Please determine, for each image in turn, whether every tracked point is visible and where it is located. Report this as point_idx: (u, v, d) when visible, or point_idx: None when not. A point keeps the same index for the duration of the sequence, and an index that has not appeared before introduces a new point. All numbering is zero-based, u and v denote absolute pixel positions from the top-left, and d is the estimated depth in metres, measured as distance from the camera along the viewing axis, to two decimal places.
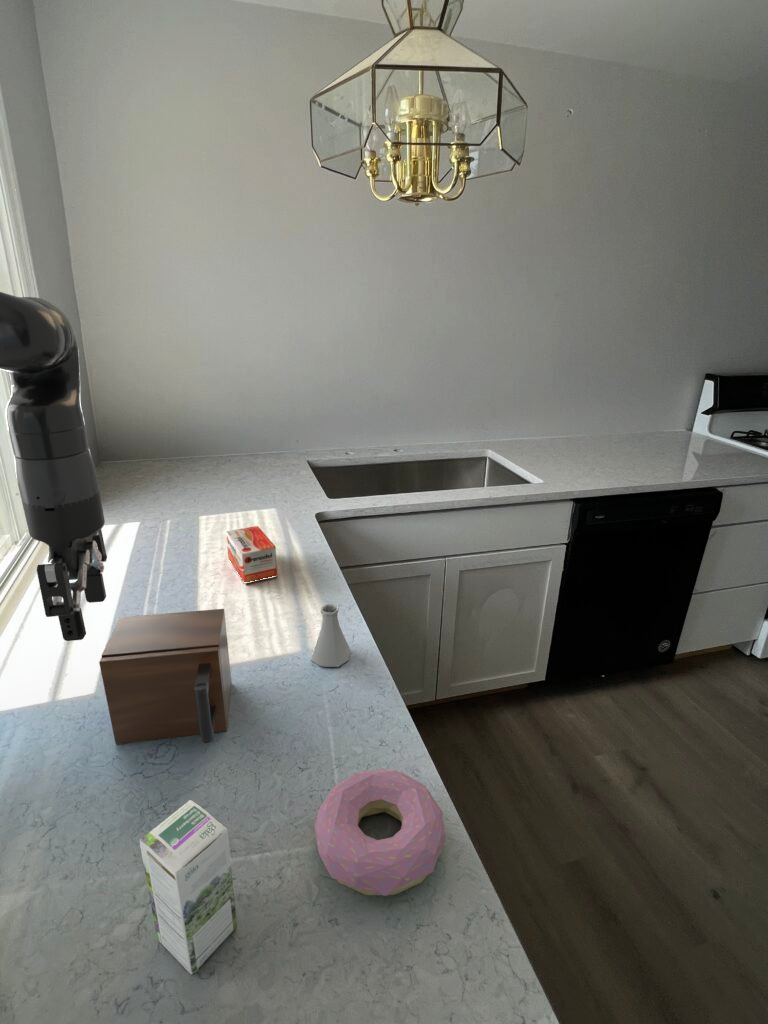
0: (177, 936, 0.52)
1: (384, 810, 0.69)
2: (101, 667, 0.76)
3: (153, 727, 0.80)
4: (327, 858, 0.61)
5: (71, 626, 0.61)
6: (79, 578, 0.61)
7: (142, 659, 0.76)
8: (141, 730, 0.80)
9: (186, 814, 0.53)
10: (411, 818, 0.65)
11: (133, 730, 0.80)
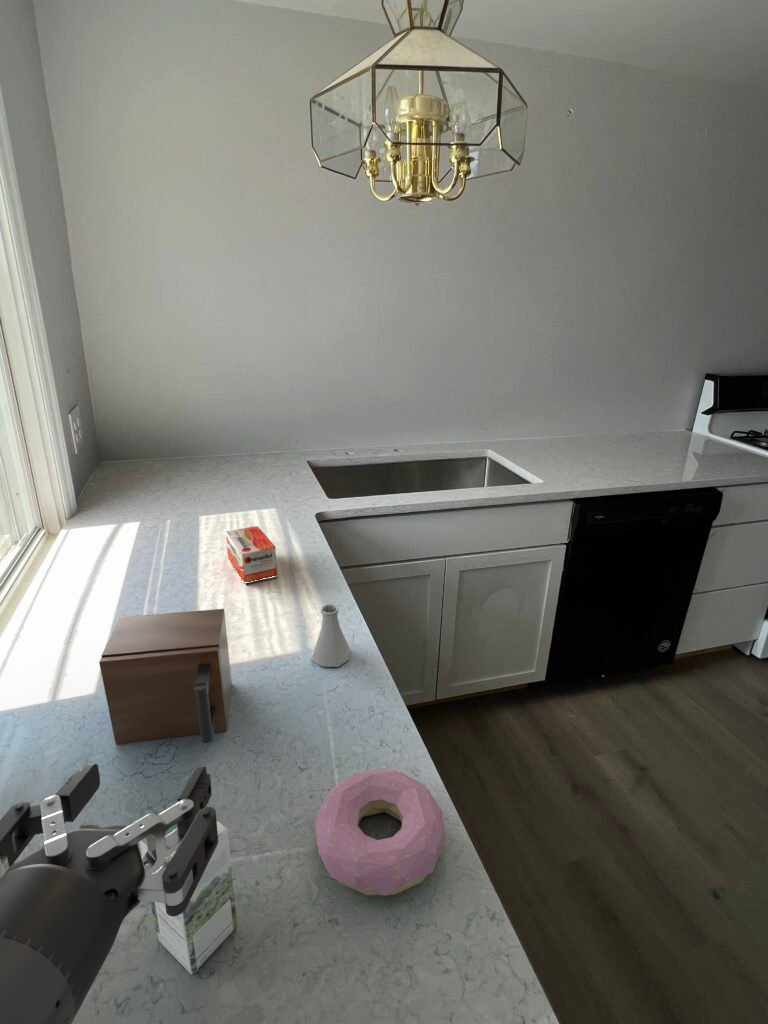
0: (177, 936, 0.52)
1: (384, 810, 0.69)
2: (101, 667, 0.76)
3: (153, 727, 0.80)
4: (327, 858, 0.61)
5: None
6: None
7: (142, 659, 0.76)
8: (141, 730, 0.80)
9: None
10: (411, 818, 0.65)
11: (133, 730, 0.80)
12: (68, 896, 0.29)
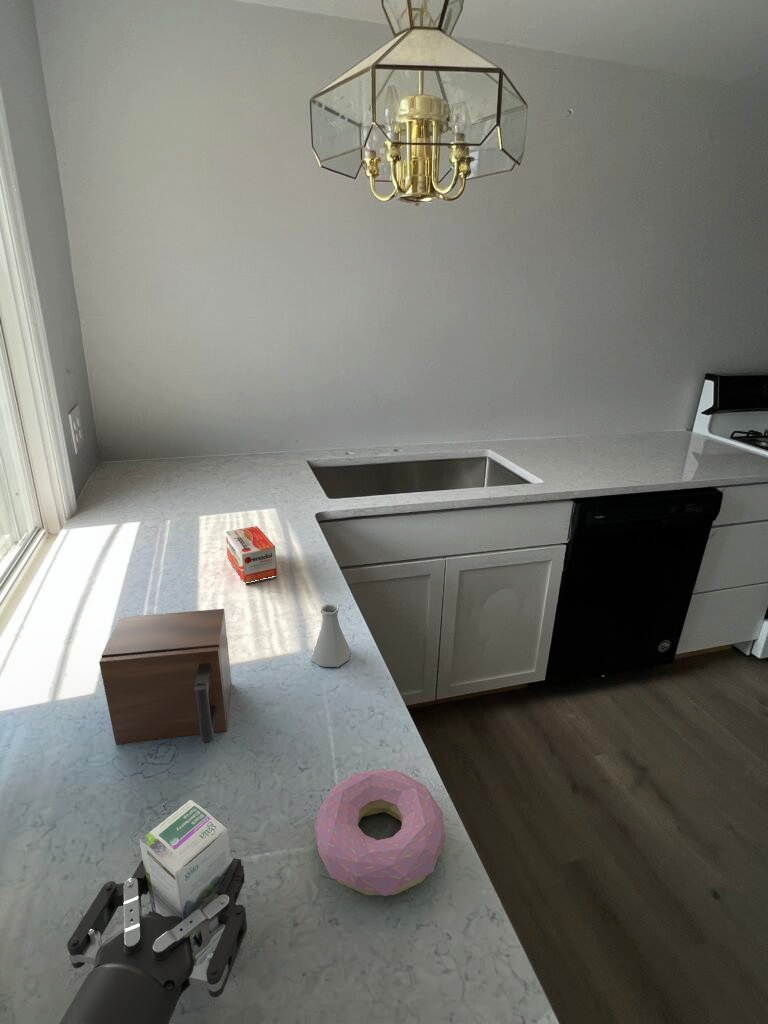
0: None
1: (384, 810, 0.69)
2: (101, 667, 0.76)
3: (153, 727, 0.80)
4: (327, 858, 0.61)
5: None
6: None
7: (142, 659, 0.76)
8: (141, 730, 0.80)
9: (186, 814, 0.53)
10: (411, 818, 0.65)
11: (133, 730, 0.80)
12: (141, 995, 0.42)
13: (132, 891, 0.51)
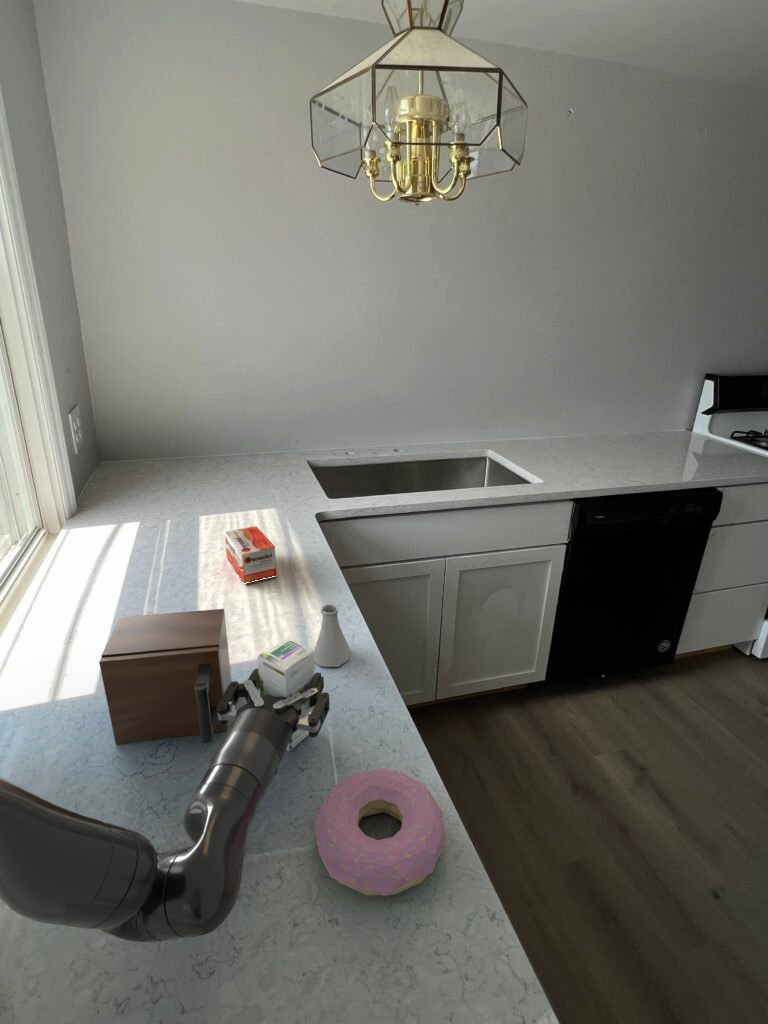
0: None
1: (384, 810, 0.69)
2: (101, 667, 0.76)
3: (153, 727, 0.80)
4: (327, 858, 0.61)
5: None
6: None
7: (142, 659, 0.76)
8: (141, 730, 0.80)
9: (285, 644, 0.80)
10: (411, 818, 0.65)
11: (133, 730, 0.80)
12: (273, 721, 0.68)
13: (250, 685, 0.77)
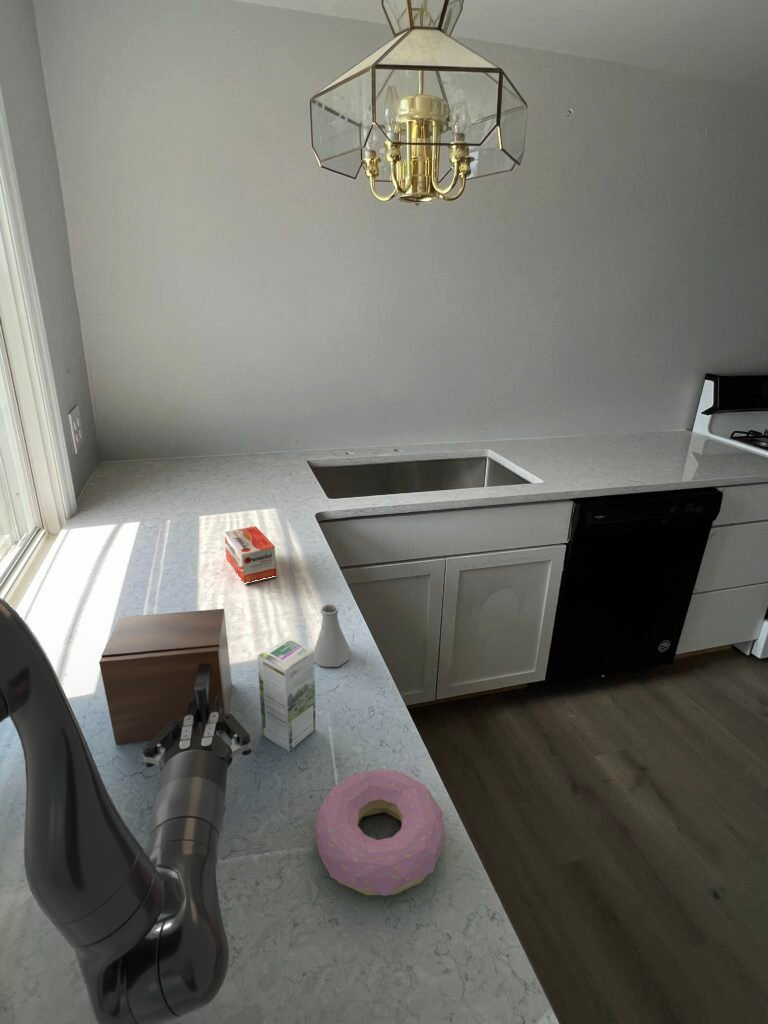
0: (280, 722, 0.79)
1: (384, 810, 0.69)
2: (101, 667, 0.76)
3: (153, 727, 0.80)
4: (327, 858, 0.61)
5: None
6: None
7: (142, 659, 0.76)
8: (141, 730, 0.80)
9: (285, 644, 0.80)
10: (411, 818, 0.65)
11: (133, 730, 0.80)
12: (210, 760, 0.64)
13: (189, 721, 0.72)
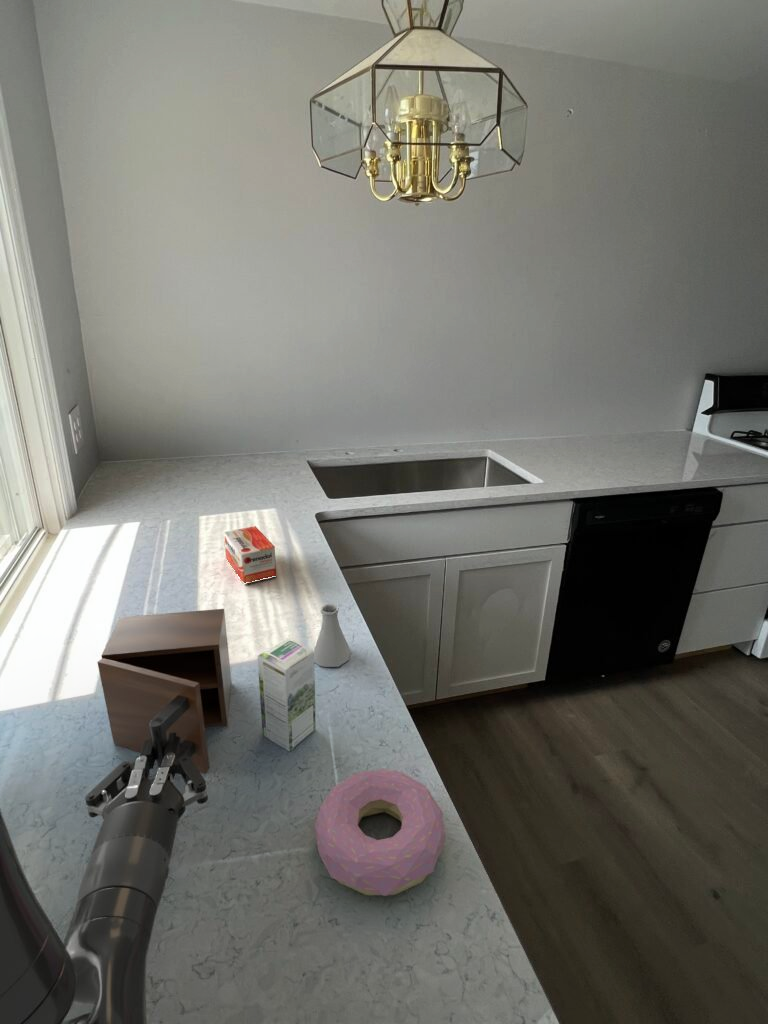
0: (280, 722, 0.79)
1: (384, 810, 0.69)
2: (99, 667, 0.75)
3: (142, 741, 0.78)
4: (327, 858, 0.61)
5: None
6: None
7: (130, 672, 0.74)
8: (133, 740, 0.78)
9: (285, 644, 0.80)
10: (411, 818, 0.65)
11: (126, 737, 0.79)
12: (154, 814, 0.57)
13: (141, 764, 0.66)
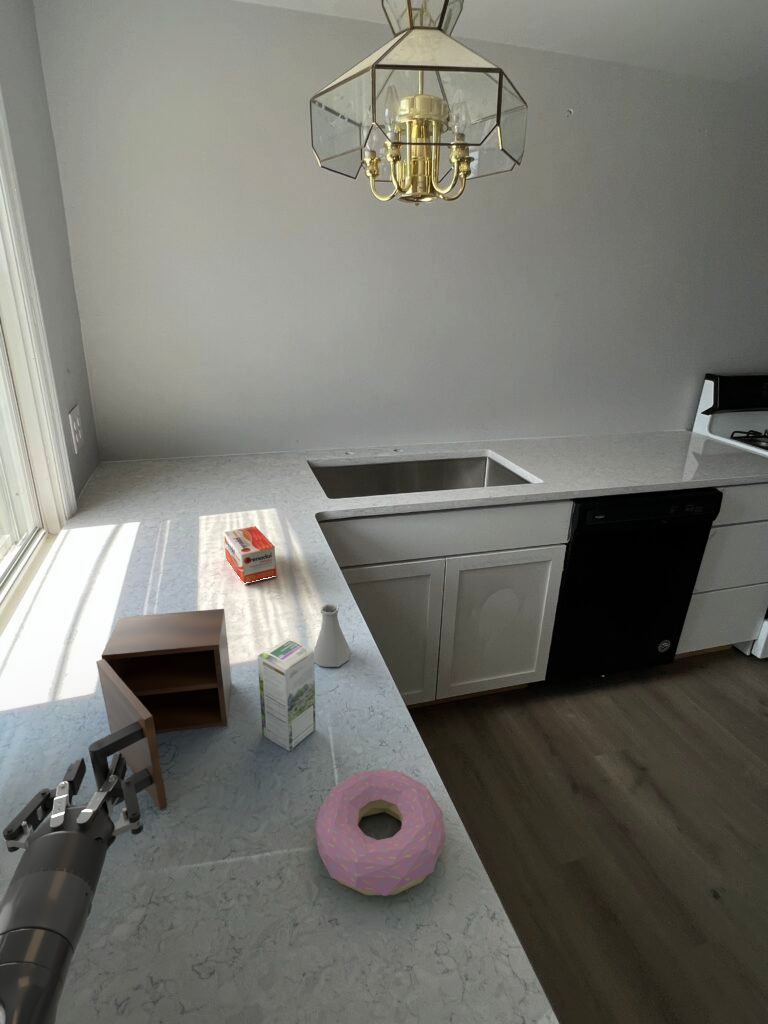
0: (280, 722, 0.79)
1: (384, 810, 0.69)
2: (97, 667, 0.76)
3: (125, 752, 0.76)
4: (327, 858, 0.61)
5: None
6: None
7: (112, 682, 0.72)
8: None
9: (285, 644, 0.80)
10: (411, 818, 0.65)
11: None
12: (78, 845, 0.54)
13: (63, 791, 0.62)
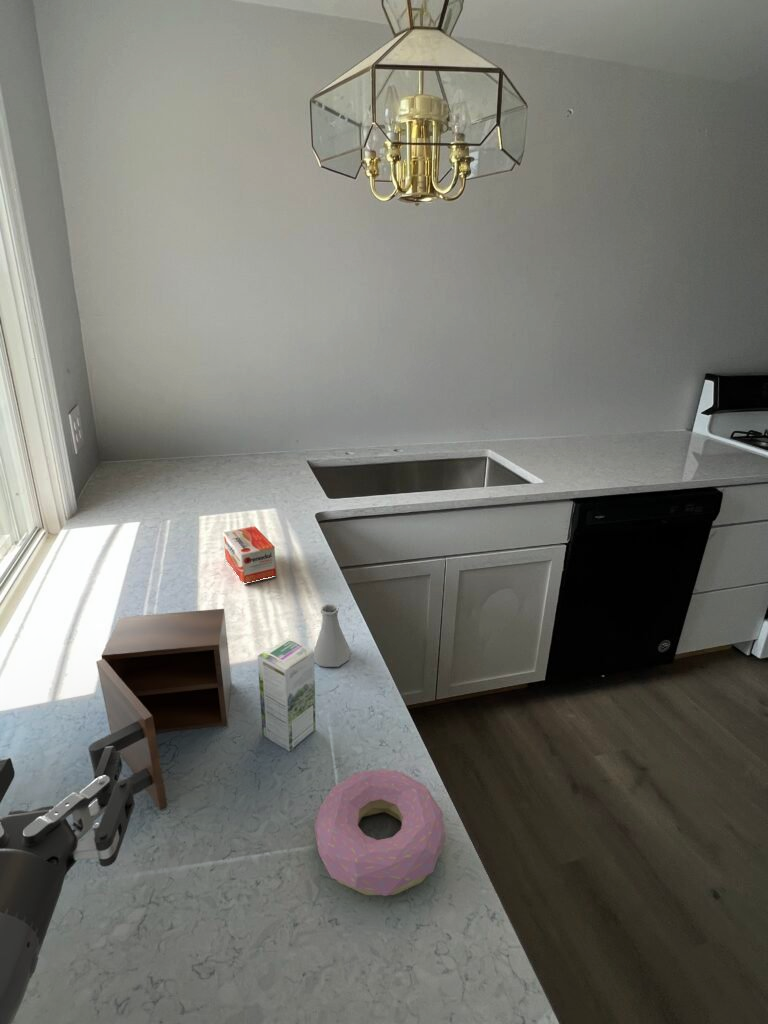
0: (280, 722, 0.79)
1: (384, 810, 0.69)
2: (97, 667, 0.76)
3: (125, 752, 0.76)
4: (327, 858, 0.61)
5: None
6: None
7: (112, 682, 0.72)
8: None
9: (285, 644, 0.80)
10: (411, 818, 0.65)
11: None
12: (20, 869, 0.37)
13: None
